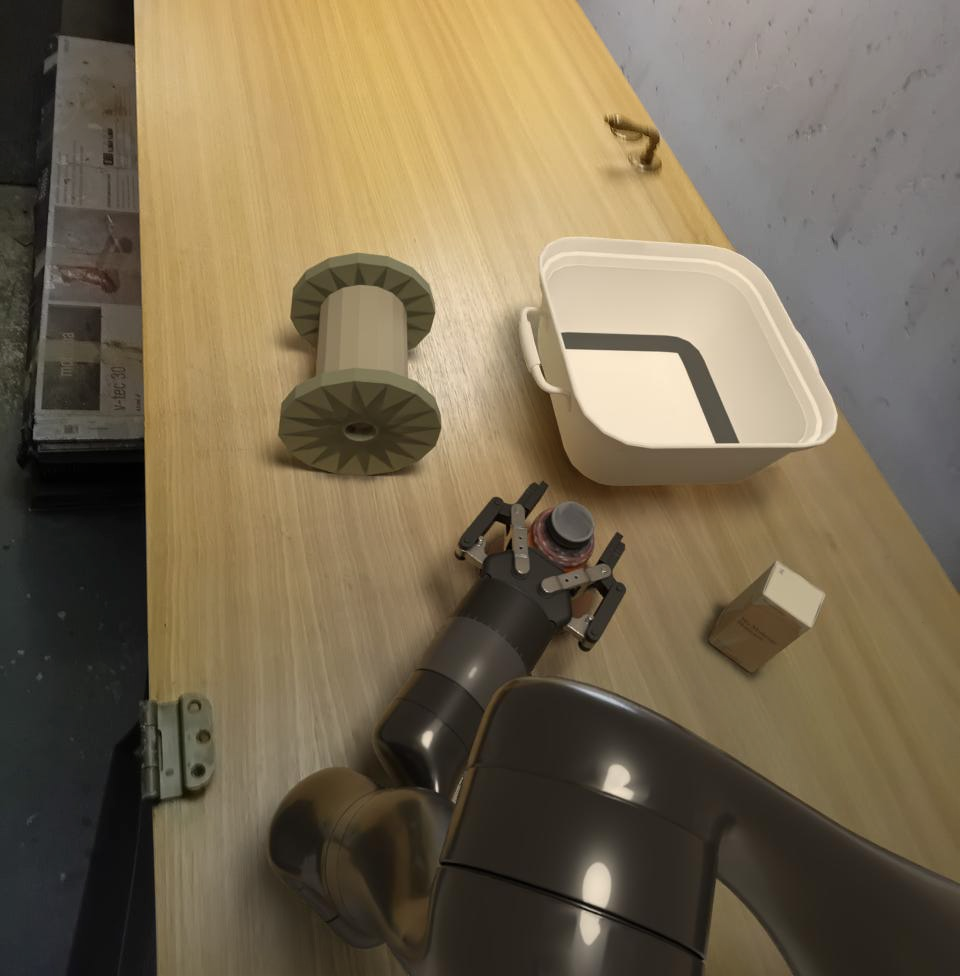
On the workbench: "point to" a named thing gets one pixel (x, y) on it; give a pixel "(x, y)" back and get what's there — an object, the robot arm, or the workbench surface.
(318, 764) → the workbench surface
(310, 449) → the spool
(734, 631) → the box
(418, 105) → the workbench surface
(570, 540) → the supplement bottle
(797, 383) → the pot
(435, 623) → the workbench surface
